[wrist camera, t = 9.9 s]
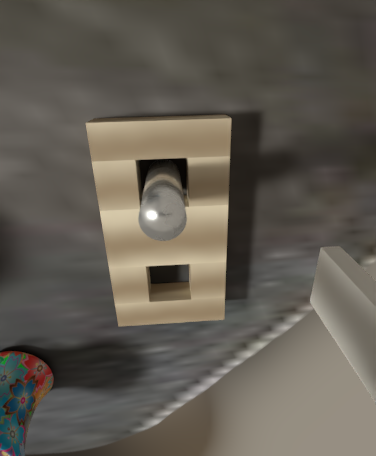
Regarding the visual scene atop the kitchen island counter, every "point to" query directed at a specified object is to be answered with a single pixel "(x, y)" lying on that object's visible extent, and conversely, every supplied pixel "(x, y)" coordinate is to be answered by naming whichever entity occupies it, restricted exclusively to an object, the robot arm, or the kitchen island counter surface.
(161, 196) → the peg
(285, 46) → the kitchen island counter surface
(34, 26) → the kitchen island counter surface
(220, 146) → the hole block
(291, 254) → the kitchen island counter surface
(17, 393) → the mug
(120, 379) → the kitchen island counter surface
